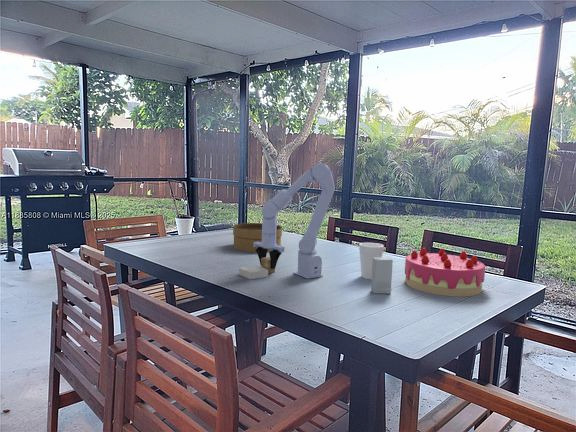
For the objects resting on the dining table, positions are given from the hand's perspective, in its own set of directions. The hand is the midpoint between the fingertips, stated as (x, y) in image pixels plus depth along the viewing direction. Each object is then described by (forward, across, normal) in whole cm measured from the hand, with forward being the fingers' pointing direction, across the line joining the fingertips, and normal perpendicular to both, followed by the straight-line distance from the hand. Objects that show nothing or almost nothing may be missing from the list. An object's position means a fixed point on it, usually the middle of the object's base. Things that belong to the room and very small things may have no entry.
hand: (268, 267), depth 168 cm
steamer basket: (+2, +36, -34) cm, 50 cm away
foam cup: (+2, -33, -23) cm, 40 cm away
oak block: (+2, 0, 0) cm, 2 cm away
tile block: (+2, 0, +8) cm, 9 cm away
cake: (+2, -58, -33) cm, 67 cm away
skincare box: (+2, -46, -8) cm, 46 cm away
